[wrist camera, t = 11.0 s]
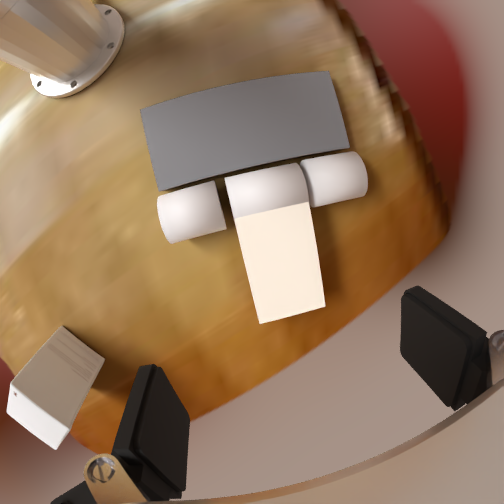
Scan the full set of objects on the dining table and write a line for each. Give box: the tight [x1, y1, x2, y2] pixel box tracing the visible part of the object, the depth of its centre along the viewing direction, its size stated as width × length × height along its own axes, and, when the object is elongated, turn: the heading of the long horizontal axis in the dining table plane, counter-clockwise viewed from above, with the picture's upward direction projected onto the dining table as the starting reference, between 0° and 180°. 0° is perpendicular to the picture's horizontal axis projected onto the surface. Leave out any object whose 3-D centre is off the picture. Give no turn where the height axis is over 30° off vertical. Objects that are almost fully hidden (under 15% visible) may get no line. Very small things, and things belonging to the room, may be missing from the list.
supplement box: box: [7, 326, 105, 450], centre depth 23 cm, size 7×7×13 cm
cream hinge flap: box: [225, 163, 325, 324], centre depth 26 cm, size 13×6×4 cm, turn 13°
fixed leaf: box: [140, 71, 368, 244], centre depth 23 cm, size 13×18×4 cm
